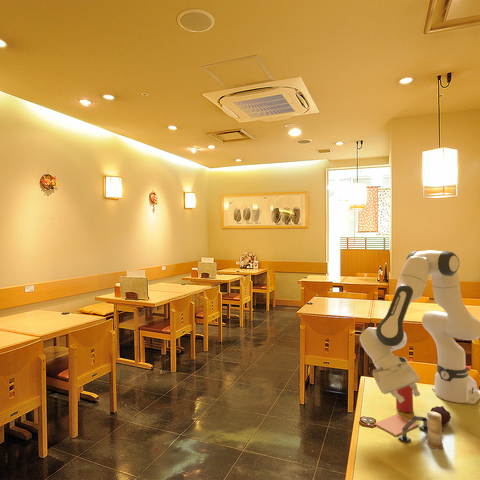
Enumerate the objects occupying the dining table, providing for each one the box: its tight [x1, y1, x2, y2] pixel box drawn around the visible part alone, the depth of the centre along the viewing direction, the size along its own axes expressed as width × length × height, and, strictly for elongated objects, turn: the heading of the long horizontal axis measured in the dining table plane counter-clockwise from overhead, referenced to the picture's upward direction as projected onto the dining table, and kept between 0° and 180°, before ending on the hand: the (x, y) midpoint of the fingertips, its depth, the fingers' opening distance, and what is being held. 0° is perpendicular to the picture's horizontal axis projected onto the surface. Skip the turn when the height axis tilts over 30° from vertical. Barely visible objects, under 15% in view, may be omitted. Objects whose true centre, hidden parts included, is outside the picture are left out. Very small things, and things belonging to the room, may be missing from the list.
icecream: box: [430, 405, 452, 426], centre depth 136 cm, size 7×7×15 cm
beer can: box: [395, 386, 414, 414], centre depth 148 cm, size 7×7×12 cm
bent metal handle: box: [397, 415, 428, 444], centre depth 129 cm, size 16×3×7 cm, turn 120°
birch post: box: [426, 410, 444, 450], centre depth 122 cm, size 5×5×11 cm
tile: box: [374, 413, 420, 437], centre depth 136 cm, size 14×10×1 cm
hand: (410, 398), depth 130 cm, fingers open, 8 cm apart
